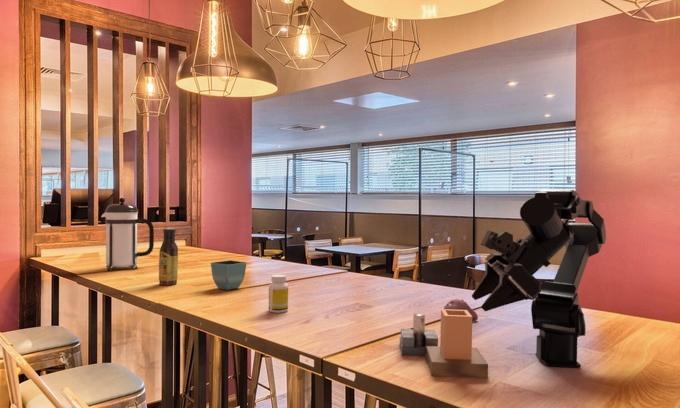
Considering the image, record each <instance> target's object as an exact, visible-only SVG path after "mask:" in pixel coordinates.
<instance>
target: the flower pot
mask: <svg viewBox="0 0 680 408" xmlns="http://www.w3.org/2000/svg"><path fill="white" fill-rule="evenodd" d="M210 268H211V275H212V279H213V282H214V284H215V285H216V287H217V288H218V289H222V290H226V291H229V290H234V289H239V288H240V287H241V285H242V284H243V281H244V278H245V275H246V268H247V262H245V261H239V260H232V259H231V260H222V261H221V260H220V261H215V262H213V261H212V262H210Z"/></svg>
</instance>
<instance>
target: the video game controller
mask: <svg viewBox="0 0 680 408" xmlns="http://www.w3.org/2000/svg"><path fill="white" fill-rule="evenodd" d="M443 309H452V310H467V311H468V312H469V313H470V314H471V316H472V322H476V321H477V320H478V319H479V316H478V314H477V312H476V311H475V310H474V309H472V307H471V306H470V305H469V304H468V303H467V302H466V301H464V299H458V298H456V299H452V300H449V301H448V302H447V304H446V305H445V306H444V307H443Z"/></svg>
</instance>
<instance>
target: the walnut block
mask: <svg viewBox="0 0 680 408" xmlns="http://www.w3.org/2000/svg"><path fill="white" fill-rule="evenodd" d="M425 359H426V363H427V365H428V368H429V369H428V370H429V371H430V375H431V376H433V377H452V378H453V377H454V378H455V377H456V378H478V379H479V378H480V379H481V378H482V379H489V376H488V375H489V364H488V362H487V361H486V359H485V357H484V356H483V354H482V353H481V352H480V350H479V348H478V347H472V360H465V359H444V357H443V355H442V353H441V350H440V346H439V345H438V346H426V356H425Z"/></svg>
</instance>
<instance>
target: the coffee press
mask: <svg viewBox="0 0 680 408" xmlns="http://www.w3.org/2000/svg"><path fill="white" fill-rule="evenodd" d="M125 201H126V199H125V198H123V197H120V198H119V200H118V202H119V203H112V204H109V205H107V207H106V209H105V210H104V213H102V215H101V218H105V222H104V223H105V264H106V266H105V267H106V268H107V269H106V270H107V272H113V270H114V269H115V268H125V267H130V268H131V269H132V270H133V271H134V270H138V269H139V268H138V267H139V266H138V265H137V263H138V258H139V257H145V256H148V255H150V254H151V253H152V252H153V249H154V244H155V237H154V236H155V230H154V225H153V223H152V222H151V221H150V220H149V219H146V218H138V213H139V209H138V207H137V206H136V205H134V204H130V203H125ZM139 223H142V224H146V225H147V226H148V230H149V232H148V236H149V237H148V239H149V240H148V241H149V242H148V245H149V246H148V248H147V250H146V251H142V252H138V224H139Z"/></svg>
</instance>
